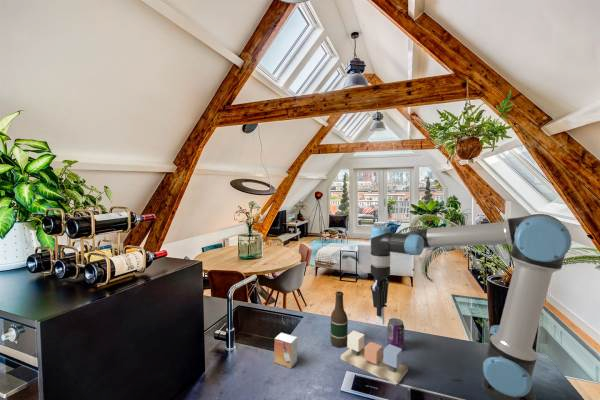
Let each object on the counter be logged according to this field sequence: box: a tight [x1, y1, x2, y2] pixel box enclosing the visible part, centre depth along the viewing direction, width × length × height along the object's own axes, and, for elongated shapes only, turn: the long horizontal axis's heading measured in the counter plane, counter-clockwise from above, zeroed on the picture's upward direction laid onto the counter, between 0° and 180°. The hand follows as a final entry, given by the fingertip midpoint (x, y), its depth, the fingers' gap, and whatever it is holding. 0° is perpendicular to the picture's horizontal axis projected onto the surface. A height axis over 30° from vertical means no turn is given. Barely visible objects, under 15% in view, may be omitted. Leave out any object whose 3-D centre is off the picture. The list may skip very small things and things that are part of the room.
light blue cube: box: [382, 344, 403, 368], centre depth 110 cm, size 5×5×5 cm
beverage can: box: [386, 317, 405, 350], centre depth 127 cm, size 7×7×12 cm
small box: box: [273, 332, 298, 369], centre depth 116 cm, size 8×6×10 cm
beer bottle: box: [330, 290, 349, 349], centre depth 130 cm, size 8×8×24 cm
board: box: [340, 347, 409, 384], centre depth 115 cm, size 24×11×6 cm, turn 49°
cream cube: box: [346, 330, 366, 352], centre depth 120 cm, size 5×5×5 cm
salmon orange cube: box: [364, 341, 383, 365], centre depth 115 cm, size 5×5×5 cm
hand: (380, 322), depth 114 cm, fingers closed
